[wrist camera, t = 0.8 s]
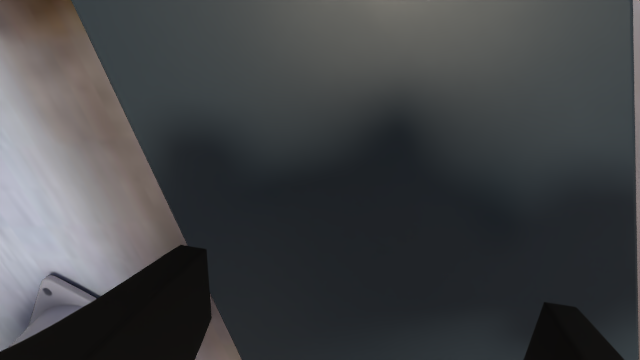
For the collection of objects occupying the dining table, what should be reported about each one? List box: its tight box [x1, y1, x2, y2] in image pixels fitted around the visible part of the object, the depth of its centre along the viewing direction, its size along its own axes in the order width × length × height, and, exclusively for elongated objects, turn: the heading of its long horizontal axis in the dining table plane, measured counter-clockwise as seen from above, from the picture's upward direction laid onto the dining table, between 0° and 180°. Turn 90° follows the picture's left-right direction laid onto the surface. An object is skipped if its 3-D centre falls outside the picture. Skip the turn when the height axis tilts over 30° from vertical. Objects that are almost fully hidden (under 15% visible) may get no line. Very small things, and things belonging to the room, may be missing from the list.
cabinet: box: [71, 0, 639, 360], centre depth 15 cm, size 14×12×8 cm
